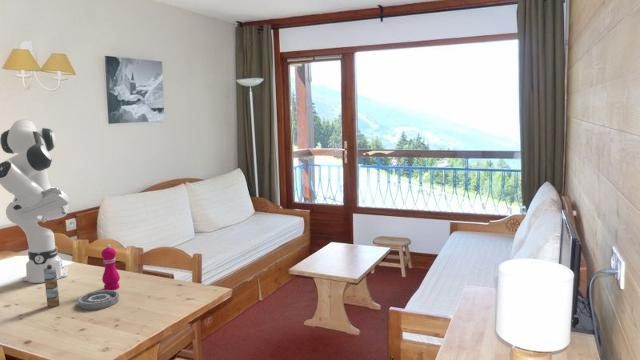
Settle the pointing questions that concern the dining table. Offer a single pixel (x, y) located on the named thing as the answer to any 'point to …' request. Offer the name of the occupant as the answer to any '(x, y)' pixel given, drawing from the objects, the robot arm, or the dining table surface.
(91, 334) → the dining table surface
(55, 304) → the bead column
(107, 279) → the pepper mill
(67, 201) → the robot arm
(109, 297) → the tray
